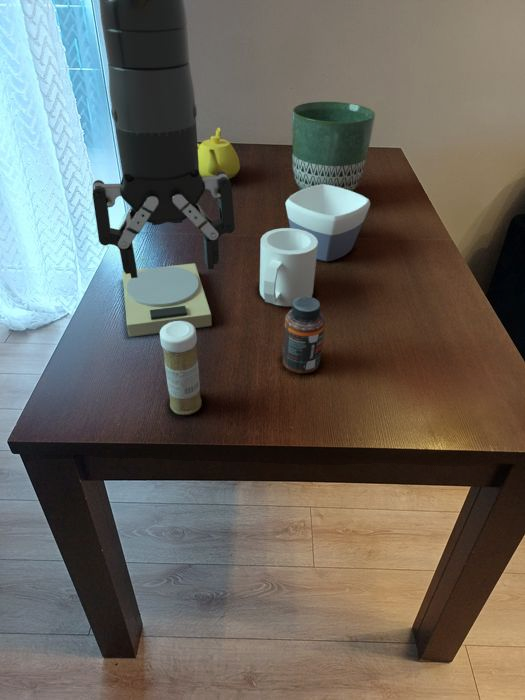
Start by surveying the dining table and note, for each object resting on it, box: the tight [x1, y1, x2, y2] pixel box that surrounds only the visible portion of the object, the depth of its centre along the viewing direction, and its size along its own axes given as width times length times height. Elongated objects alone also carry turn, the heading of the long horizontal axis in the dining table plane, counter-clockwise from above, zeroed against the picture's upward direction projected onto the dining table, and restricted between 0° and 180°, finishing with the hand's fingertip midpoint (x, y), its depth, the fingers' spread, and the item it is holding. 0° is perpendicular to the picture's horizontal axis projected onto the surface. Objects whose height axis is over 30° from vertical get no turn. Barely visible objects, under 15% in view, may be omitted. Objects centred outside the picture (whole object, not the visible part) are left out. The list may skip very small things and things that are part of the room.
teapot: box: [197, 126, 241, 180], centre depth 136 cm, size 20×15×12 cm
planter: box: [291, 101, 376, 192], centre depth 124 cm, size 20×20×21 cm
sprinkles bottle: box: [159, 321, 202, 416], centre depth 66 cm, size 5×5×14 cm
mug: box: [259, 227, 318, 307], centre depth 90 cm, size 14×10×11 cm
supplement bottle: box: [282, 296, 326, 374], centre depth 75 cm, size 6×6×11 cm
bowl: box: [285, 184, 371, 262], centre depth 105 cm, size 15×15×11 cm
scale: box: [121, 262, 213, 338], centre depth 90 cm, size 14×18×3 cm
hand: (172, 270), depth 56 cm, fingers open, 8 cm apart
